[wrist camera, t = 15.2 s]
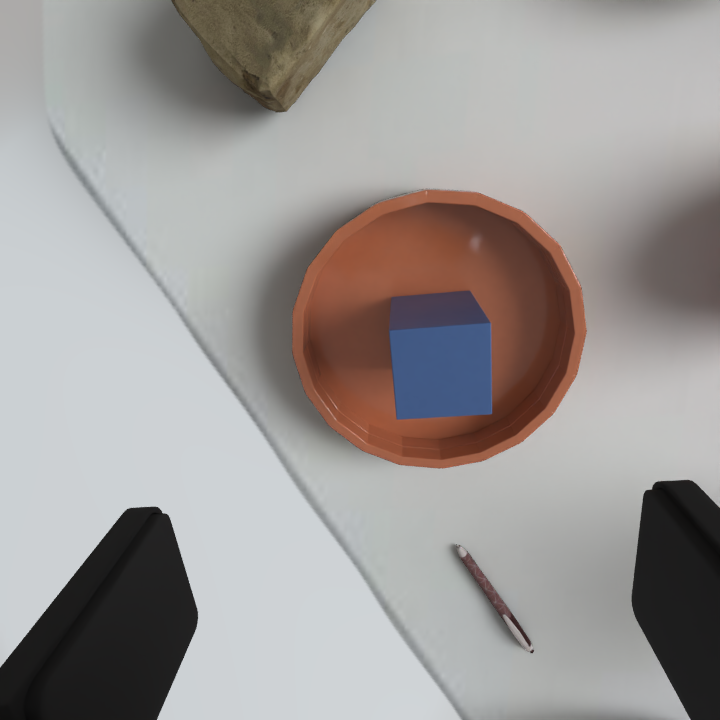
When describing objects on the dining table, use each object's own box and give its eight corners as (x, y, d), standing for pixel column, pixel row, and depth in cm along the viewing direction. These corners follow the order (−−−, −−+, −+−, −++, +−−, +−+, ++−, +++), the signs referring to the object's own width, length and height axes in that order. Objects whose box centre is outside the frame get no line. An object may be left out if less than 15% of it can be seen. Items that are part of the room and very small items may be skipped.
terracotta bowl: (252, 341, 30) (237, 357, 27) (420, 124, 25) (423, 118, 22) (439, 483, 32) (443, 512, 29) (624, 312, 27) (650, 327, 24)
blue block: (396, 369, 29) (396, 420, 23) (390, 296, 27) (388, 330, 21) (472, 364, 28) (492, 414, 22) (470, 290, 27) (491, 322, 21)
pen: (535, 644, 36) (539, 657, 36) (526, 648, 37) (529, 660, 36) (461, 538, 34) (462, 548, 33) (450, 543, 34) (452, 553, 33)
